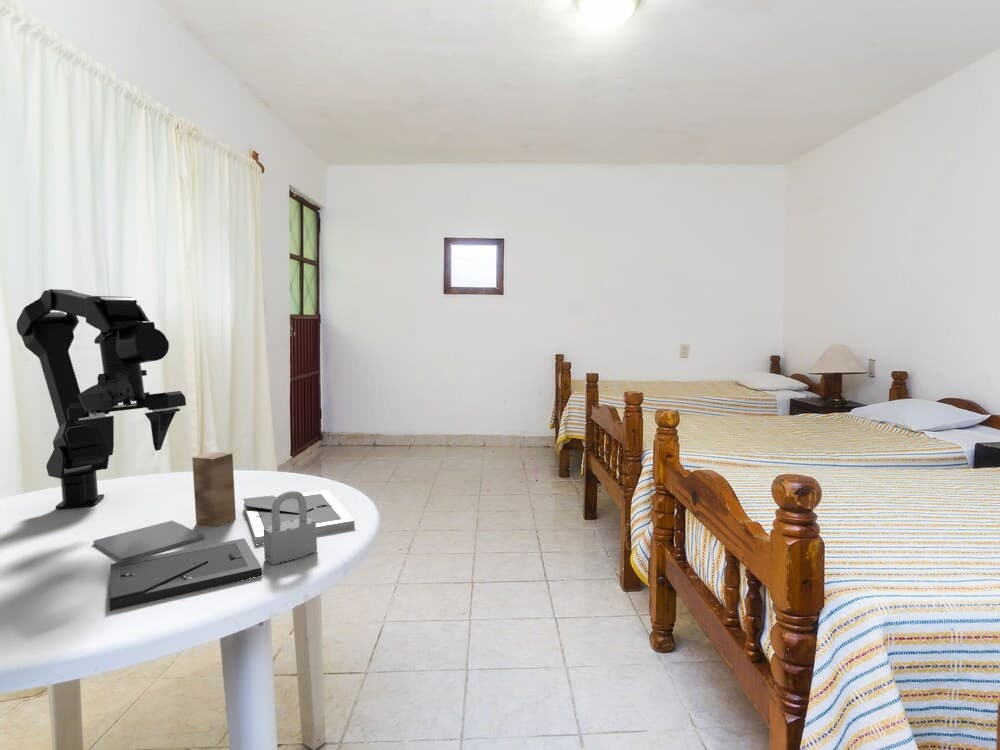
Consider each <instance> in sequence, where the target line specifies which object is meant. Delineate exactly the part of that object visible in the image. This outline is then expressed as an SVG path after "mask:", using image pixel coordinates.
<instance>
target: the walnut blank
mask: <svg viewBox="0 0 1000 750" xmlns="http://www.w3.org/2000/svg"><path fill="white" fill-rule="evenodd" d="M191 459H192V474H193V476H192V477H193V493H194V506H195V523H196V524H195V525H199V526H205V527H206V526H207V527H213V528H218V527H219V526H223V525H225V524H227V523H229V522H231V521H235V520H236V519H237V517H236V516H237V515H236V512H237V511H236V498H235V480H234V479H235V478H234V458H233V453H231V452H220V451H219V452H217V451H210V452H207V453H204V454H200V455H195V456H193V457H192V458H191Z"/></svg>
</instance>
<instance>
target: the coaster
mask: <svg viewBox="0 0 1000 750" xmlns="http://www.w3.org/2000/svg"><path fill="white" fill-rule="evenodd" d="M204 539H205V534H202V533H199V531H196V530H193V529H191V528H190V527H187V526H185V525H182V524H180V523H178V522H176V521H174V520H169V521H165V522H161V523H157V524H154V525H153V524H152V525H149V526H146V527H142V528H136V529H134V530H130V531H129V530H128V531H125V532H122V533H117V534H114V535H110V536H106V537H105V536H104V537H102V538H98V539H95V540H94V539H93V540H92V541H93V545H94V546H95V547H97V548H99V549H100V550H102V551H103V552H104V553H107V555H110V556H111V557H113V558H114V559H115V560H117V561H118V562H123V561H128V560H134V559H139V558H144V557H148V556H152V555H153V554H156V553H161V552H164V551H167V550H170V549H175V548H178V547H181V546H184V545H185V546H186V545H188V544H192V543H194V542H195V543H196V542H198V541H201V540H202V541H203V540H204Z"/></svg>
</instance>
